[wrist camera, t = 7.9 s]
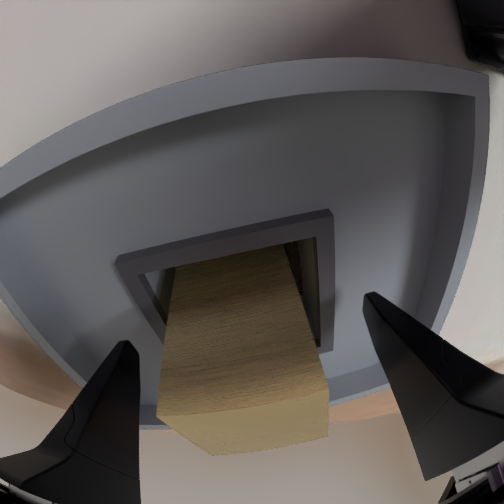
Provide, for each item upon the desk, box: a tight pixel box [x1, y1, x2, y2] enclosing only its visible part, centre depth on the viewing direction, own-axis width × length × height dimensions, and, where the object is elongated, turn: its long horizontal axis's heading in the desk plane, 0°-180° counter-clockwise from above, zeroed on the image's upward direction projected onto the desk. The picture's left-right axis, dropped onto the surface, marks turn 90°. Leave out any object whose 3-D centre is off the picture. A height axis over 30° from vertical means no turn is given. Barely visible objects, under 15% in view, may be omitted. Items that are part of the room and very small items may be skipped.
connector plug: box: [156, 244, 329, 456], centre depth 10 cm, size 4×4×8 cm
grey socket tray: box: [0, 57, 490, 429], centre depth 11 cm, size 18×16×4 cm
